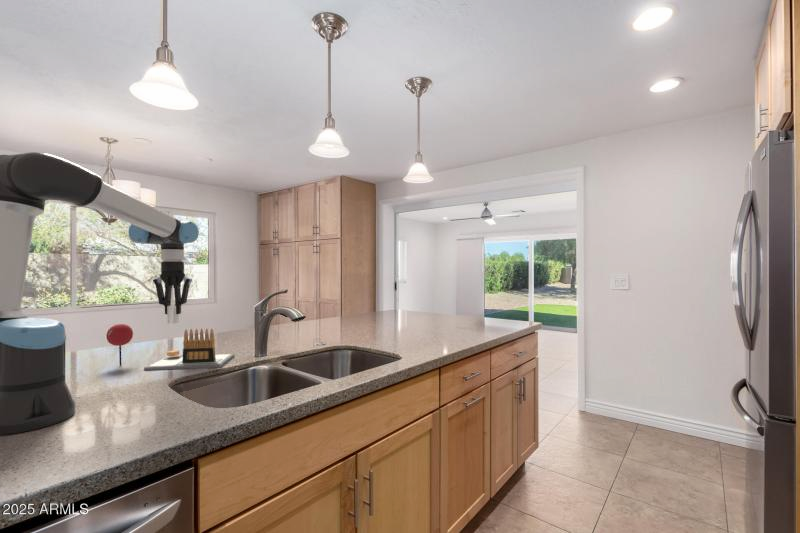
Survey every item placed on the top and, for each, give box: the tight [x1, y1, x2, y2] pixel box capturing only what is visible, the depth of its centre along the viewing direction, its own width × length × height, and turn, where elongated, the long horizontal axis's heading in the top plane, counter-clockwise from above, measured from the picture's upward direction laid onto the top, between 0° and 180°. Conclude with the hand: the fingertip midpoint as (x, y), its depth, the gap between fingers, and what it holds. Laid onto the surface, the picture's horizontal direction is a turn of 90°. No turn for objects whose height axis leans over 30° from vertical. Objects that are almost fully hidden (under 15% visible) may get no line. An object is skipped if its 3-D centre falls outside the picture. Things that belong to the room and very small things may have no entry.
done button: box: [166, 349, 180, 356], centre depth 142 cm, size 4×4×1 cm
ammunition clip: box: [182, 328, 216, 363], centre depth 135 cm, size 11×2×12 cm, turn 98°
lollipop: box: [106, 323, 134, 366], centre depth 135 cm, size 8×8×15 cm
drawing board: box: [143, 353, 235, 371], centre depth 138 cm, size 16×25×1 cm, turn 98°
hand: (173, 322), depth 141 cm, fingers closed
